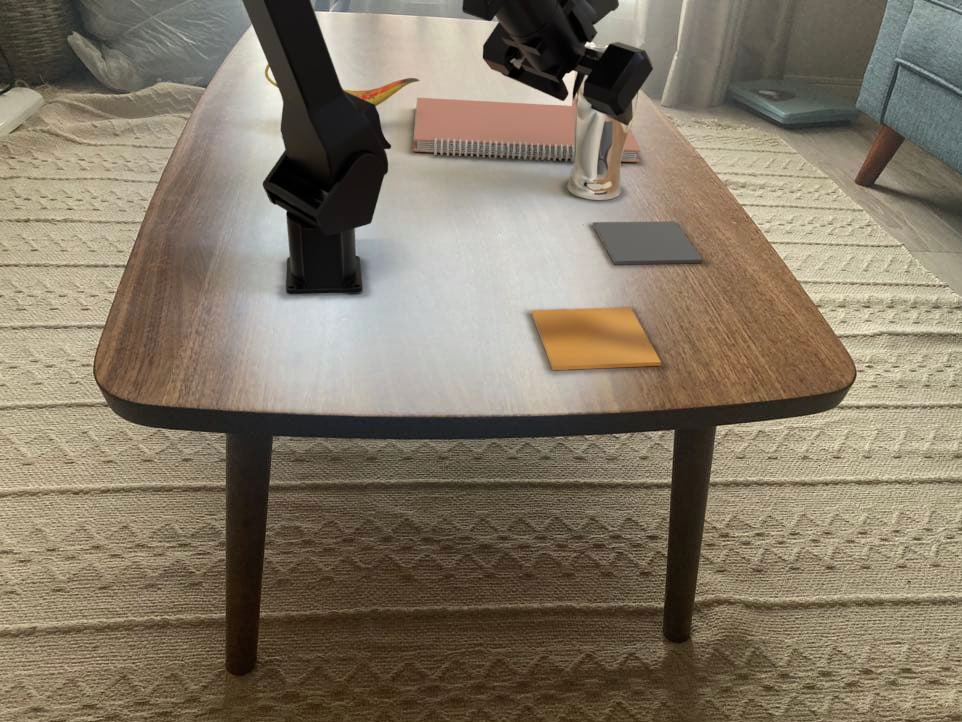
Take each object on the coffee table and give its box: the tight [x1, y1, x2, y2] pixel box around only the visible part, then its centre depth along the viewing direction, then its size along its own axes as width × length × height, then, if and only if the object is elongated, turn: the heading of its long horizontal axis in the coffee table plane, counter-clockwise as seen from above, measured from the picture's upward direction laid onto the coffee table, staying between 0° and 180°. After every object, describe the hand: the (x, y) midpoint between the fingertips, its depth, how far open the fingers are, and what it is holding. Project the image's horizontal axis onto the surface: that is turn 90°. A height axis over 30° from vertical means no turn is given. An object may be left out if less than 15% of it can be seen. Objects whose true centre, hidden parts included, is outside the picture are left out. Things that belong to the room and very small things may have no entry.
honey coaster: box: [531, 306, 662, 371], centre depth 78 cm, size 9×9×1 cm
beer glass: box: [566, 44, 639, 201], centre depth 101 cm, size 7×7×15 cm
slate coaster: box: [592, 221, 703, 266], centre depth 95 cm, size 9×9×1 cm
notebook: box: [412, 97, 641, 163], centre depth 117 cm, size 27×17×2 cm, turn 95°
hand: (596, 108), depth 99 cm, fingers open, 9 cm apart
